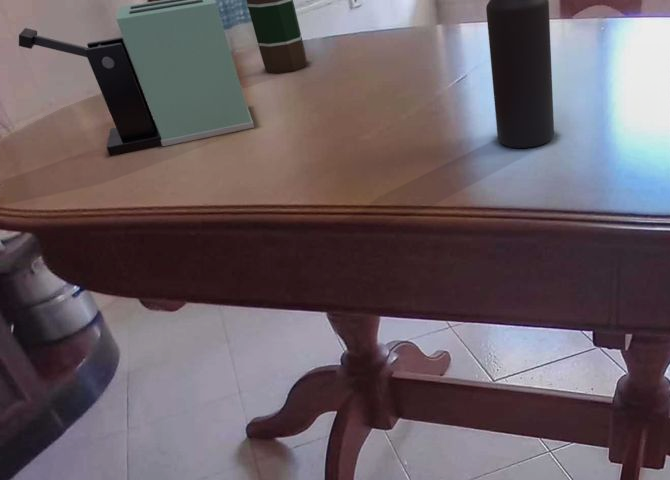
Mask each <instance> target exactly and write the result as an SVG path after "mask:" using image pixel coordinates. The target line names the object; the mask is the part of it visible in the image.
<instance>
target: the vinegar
mask: <svg viewBox="0 0 670 480" xmlns="http://www.w3.org/2000/svg"><path fill="white" fill-rule="evenodd" d="M485 10H486V22H487V34H488V45H489V56H490V67H491V79H492V88H493V100H494V111H495V122H496V134H497V135H496V136H497V139H498V142H499V143H500V144H501V145H504V146H505V147H508V148H514V149H526V148H527V149H529V148H534V147H540V146H542V145H545V144H546V143H549V142H550V141H551V140H552V139H553V138H554V135H555V121H554V119H555V118H554V97H553V96H554V94H553V73H552V72H553V71H552V70H553V69H552V49H551V48H552V47H551V46H552V45H551V25H550V24H551V22H550V2H549V0H489V1H488V2H487V4H486V7H485Z"/></svg>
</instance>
